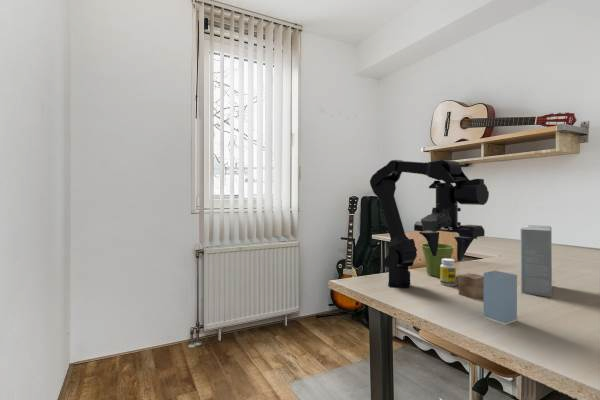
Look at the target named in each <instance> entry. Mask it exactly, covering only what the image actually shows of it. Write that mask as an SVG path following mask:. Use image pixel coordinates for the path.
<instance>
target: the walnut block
mask: <svg viewBox="0 0 600 400" xmlns="http://www.w3.org/2000/svg"><path fill="white" fill-rule="evenodd" d="M476 274H477V273H473V274H472V273H470V272H468V273H467V272H466V273H462V274H458V295H459V296H462V297H466V298H469V299H472V300H476V299H477V300H478V299H481V298H484V276H480V275H476Z"/></svg>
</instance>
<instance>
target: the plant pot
mask: <svg viewBox="0 0 600 400" xmlns="http://www.w3.org/2000/svg"><path fill="white" fill-rule="evenodd" d="M420 247H421V248H422V252H423V256H424V262H425V268H426V274H427V275H428V276H430V275H431V276H433V277H435V278H440V266H441V264H442V259H444V258H447V259H452V255H453V252H454V249H455V247H456V246H454V245H453V244H448V243H440V242H438V249H437V254H436V256H433V255H432V253H431V250H430V247H429V244H428V242H426V243H421V244H420Z"/></svg>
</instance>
